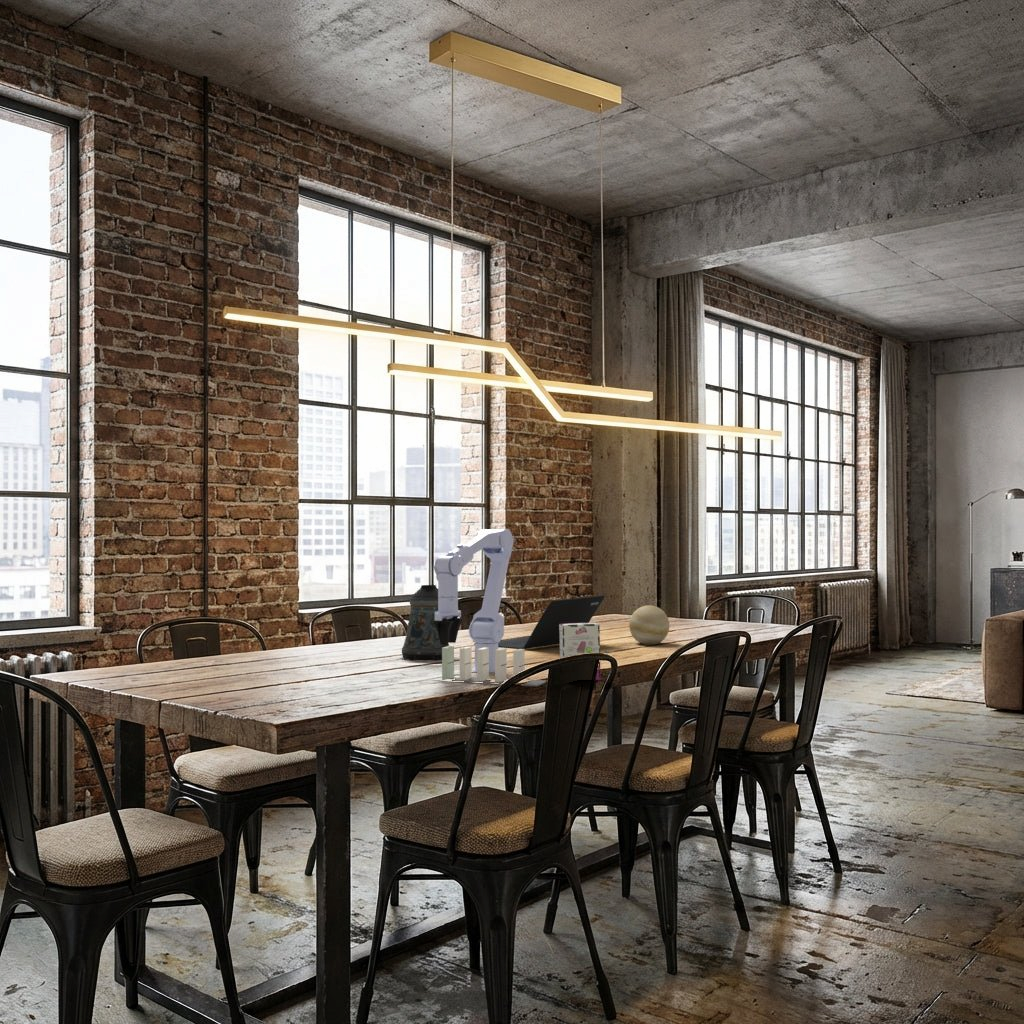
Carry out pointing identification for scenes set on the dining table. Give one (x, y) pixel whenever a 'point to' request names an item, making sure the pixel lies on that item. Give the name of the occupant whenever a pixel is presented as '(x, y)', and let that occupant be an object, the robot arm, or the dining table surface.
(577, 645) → the candy bar box
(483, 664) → the domino
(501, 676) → the domino
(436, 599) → the beer stein
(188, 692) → the dining table surface
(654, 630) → the decorative ball
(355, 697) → the dining table surface
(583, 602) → the laptop
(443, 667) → the sage domino
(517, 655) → the domino
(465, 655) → the domino
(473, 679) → the mat
